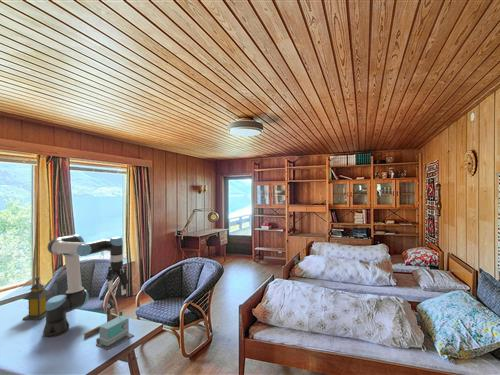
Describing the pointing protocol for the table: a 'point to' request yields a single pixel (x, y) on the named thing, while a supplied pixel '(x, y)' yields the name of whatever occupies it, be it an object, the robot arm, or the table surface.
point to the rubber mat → (115, 342)
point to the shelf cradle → (109, 317)
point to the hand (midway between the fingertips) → (117, 292)
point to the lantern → (37, 302)
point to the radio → (114, 330)
